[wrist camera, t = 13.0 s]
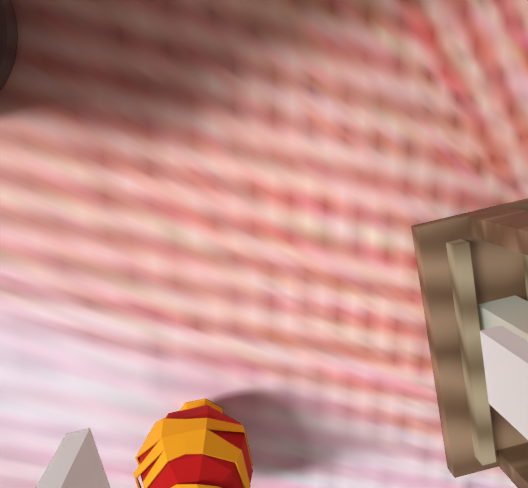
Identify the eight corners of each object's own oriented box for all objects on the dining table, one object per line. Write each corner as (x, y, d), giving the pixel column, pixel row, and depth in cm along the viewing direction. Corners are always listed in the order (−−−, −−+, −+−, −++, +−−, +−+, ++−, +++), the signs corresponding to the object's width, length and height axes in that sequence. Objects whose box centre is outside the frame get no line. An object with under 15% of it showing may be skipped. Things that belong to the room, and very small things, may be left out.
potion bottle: (259, 383, 46) (276, 491, 31) (239, 472, 47) (246, 613, 33) (156, 367, 44) (123, 473, 30) (139, 459, 46) (101, 601, 31)
